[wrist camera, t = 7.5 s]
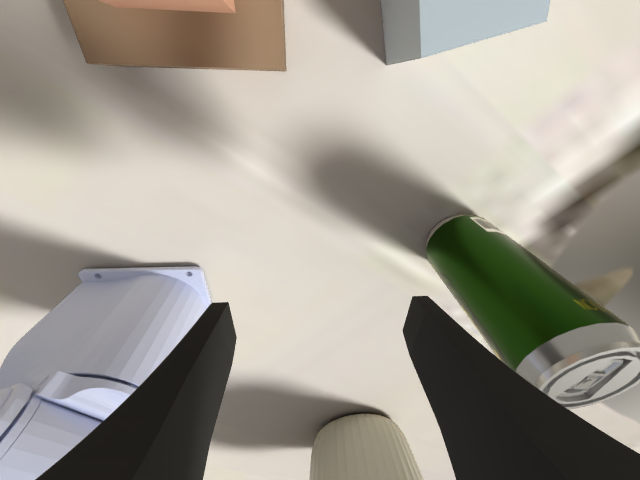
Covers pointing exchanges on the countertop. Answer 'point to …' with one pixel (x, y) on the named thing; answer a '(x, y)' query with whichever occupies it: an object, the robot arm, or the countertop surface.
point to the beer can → (534, 314)
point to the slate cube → (451, 24)
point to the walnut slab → (182, 36)
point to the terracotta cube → (177, 5)
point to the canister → (362, 451)
